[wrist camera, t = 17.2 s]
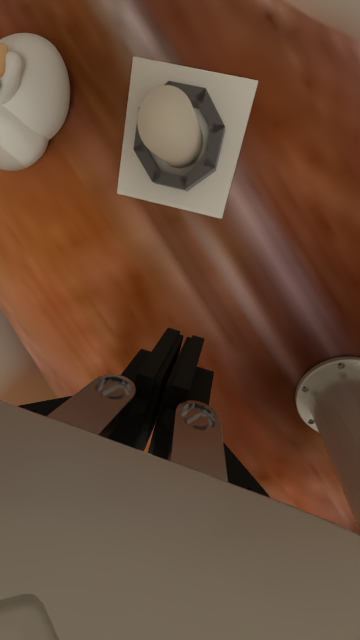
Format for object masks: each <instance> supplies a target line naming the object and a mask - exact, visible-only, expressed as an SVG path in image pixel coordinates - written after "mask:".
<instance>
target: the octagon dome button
mask: <svg viewBox="0 0 360 640" xmlns="http://www.w3.org/2000/svg"><path fill="white" fill-rule="evenodd" d="M163 85H171V86H175V87H177V88H179V89H180V90H182V91H183V92H184V93H185V94H186V95H187V97H188V98H189V100H190V101H191V104H192V106H193V109H194V112H195V114H196V117H197V120H198V122H199V125H200V127H201V130H202V133H203V149H202V152H201V154H200V156H199V158H198V159H197V161H196V162H195V163H194V164H192V165H191V166H189V167H187V168H184V169H177V168H173V167H171V166H169V165H168V164H167V163H165V162H164V161H163V160H162V159H160V158H159V157H158V156H157V155H155V154H154V153H153V152H151V151H150V150H149V149H148V148H147V147H146V146H145V145H144V143H143V141H142V140H141V137H140V135H139V131H138V124H137V119H138V112H139V108H140V105H141V103H142V101H143V100H144V98H145V97H146V95H147V94H148V93H149V92H150V91H152V90H153V89H155V88H157V87H159V86H163ZM257 85H258V80H252V79H247V78H242V77H237V76H232V75H227V74H222V73H216V72H211V71H206V70H201V69H196V68H191V67H185V66H180V65H175V64H170V63H165V62H160V61H155V60H149V59H144V58H139V57H134V56H133V62H132V71H131V79H130V87H129V96H128V104H127V113H126V121H125V129H124V138H123V146H122V155H121V163H120V172H119V180H118V188H117V194H121V195H125V196H129V197H133V198H138V199H142V200H146V201H150V202H154V203H158V204H162V205H167V206H171V207H175V208H179V209H183V210H187V211H191V212H195V213H200V214H204V215H208V216H212V217H216V218H220V219H222V217H223V213H224V209H225V206H226V202H227V198H228V194H229V191H230V187H231V183H232V179H233V175H234V172H235V168H236V164H237V160H238V157H239V153H240V149H241V145H242V142H243V138H244V134H245V130H246V127H247V123H248V119H249V115H250V111H251V108H252V104H253V100H254V96H255V93H256V89H257Z"/></svg>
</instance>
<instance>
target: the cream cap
mask: <svg viewBox="0 0 360 640" xmlns="http://www.w3.org/2000/svg"><path fill="white" fill-rule="evenodd" d="M137 124H138V131H139V135H140V137H141V140H142V141H143V143H144V145H145V146H146V147H147V148H148V149H149V150H150V151H151V152H153V153H154V154H155V155H157V156H158V157H159V158H160V159H162V160H163V161H164V162H165V163H167V164H168V165H169V166H171V167H173V168H177V169H184V168H187V167H189V166H191V165H192V164H194V163H195V162H196V161H197V159H198V158H199V156H200V154H201V152H202V149H203V133H202V130H201V127H200V125H199V122H198V120H197V117H196V114H195V112H194V109H193V106H192V104H191V101H190V100H189V98H188V97H187V95H186V94H185V93H184V92H183V91H182V90H180V89H179V88H177V87H175V86H171V85H163V86H159V87H157V88H155V89H153V90H152V91H150V92H149V93H148V94H147V95H146V97H145V98H144V100H143V101H142V103H141V105H140V108H139V112H138V119H137Z"/></svg>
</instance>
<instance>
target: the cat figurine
mask: <svg viewBox="0 0 360 640" xmlns="http://www.w3.org/2000/svg"><path fill="white" fill-rule="evenodd" d="M69 104H70V83H69V77H68V73H67V69H66V66H65V63H64V61H63V59H62V57H61V55H60V53H59V52H58V50H57V49H56V48H55V46H54V45H53V44H52V43H51V42H49V41H48V40H47V39H45V38H43V37H41V36H39V35H36V34H31V33H17V34H12V35H9V36H7V37H4V38H2V39H1V40H0V169H2V170H9V171H16V170H22V169H25V168H27V167H29V166H31V165H32V164H33V163H35V162H36V161H37V160H39V159H40V158H41V157H42V155H43V154H44V152H45V150H46V148H47V145H48V142H49V140H50V139H51V138H52V137H53V136H54V135H55V134H56V133H57V132H58V131H59V130H60V129H61V127H62V125H63V124H64V122H65V119H66V117H67V113H68V109H69Z"/></svg>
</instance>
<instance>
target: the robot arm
mask: <svg viewBox="0 0 360 640" xmlns="http://www.w3.org/2000/svg"><path fill="white" fill-rule="evenodd" d="M182 340H183V335H180V331H177V330H174V329H171V328H167V330H166V331H165V333H164V334H163V336H162V337H161V339H160V340H159V342H158V343H157V345H156V346H155V348H154V349H153V350H152V352H150V351H147V350H143V349H141V350H140V351H139V352H138V354H137V355H136V356H135V357H134V359H133V360H132V361H131V362H130V364H129V365H128V366H127V368H126V369H125V370H124V371H123V373H122V374H121V375H115V374H108V375H103V376H100V377H98V378H96V379H94V380H93V381H92V382H91V383H89V384H88V385H87V386H85V387H84V388H83V389H81V390H80V391H79V392H77V393H76V394H75V395H74V396H69V397H64V398H58V399H53V400H47V401H42V402H36V403H31V404H26V405H20V406H14V405H12V404H9V403H6V402H3V401H1V400H0V640H360V535H359V534H357V533H355V532H353V531H351V530H349V529H347V528H345V527H343V526H341V525H338V524H336V523H334V522H331V521H329V520H326V519H324V518H321V517H319V516H316V515H314V514H311V513H309V512H306V511H304V510H301V509H299V508H296V507H294V506H291V505H289V504H286V503H283V502H280V501H278V500H275V499H272V498H270V497H269V495H268V494H267V493H266V492H265V490H264V489H263V488H262V487H261V486H260V485H259V483H258V482H257V481H256V480H255V479H254V477H253V476H252V475H251V474H250V473H249V472H248V470H247V469H246V468H245V467H244V466H243V465H242V463H241V462H240V461H239V460H238V459H237V458H236V456H235V455H234V454H233V453H232V452H231V450H230V449H229V448H228V447H227V446H226V445H225V443H224V442H223V437H222V428H221V421H220V418H219V415H218V414H217V413H216V411H215V410H214V409H213V408H211V407H210V406H209V399H210V393H211V387H212V380H213V374H214V372H212V371H209V370H206V369H203V368H200V367H197V363H198V360H199V356H200V353H201V349H202V346H203V342H204V338H200V337H197V336H194V335H193V336H192V338H189V337H187V338H186V340H185V343H184V345H183V347H182V349H181V352H180V348H181V344H182ZM179 352H180V354H179ZM178 355H179V356H178ZM339 363H340V364H339ZM295 403H296V407H297V410H298V413H299V415H300V416H301V418H302V420H303V421H304V422H305V423H306V424H307V425H308V426H309V427H311V428H312V429H314V430H315V431H317V432H319V434H320V436H321V439H322V441H323V443H324V446H325V448H326V451H327V453H328V456H329V458H330V460H331V463H332V465H333V468H334V470H335V472H336V475H337V477H338V480H339V482H340V485H341V487H342V489H343V492H344V494H345V497H346V499H347V501H348V504H349V506H350V509H351V511H352V514H353V516H354V518H355V520H356V523H357V525H358V527H359V530H360V357H352V356H348V357H337V358H333V359H329V360H326V361H324V362H321V363H319V364H317V365H316V366H314V367H312V368H311V369H310V370H309V371H308V372H306V373H305V375H304V376H303V377H302V378H301V380H300V381H299V383H298V385H297V388H296V392H295ZM155 423H156V424H155ZM154 425H155V428H154ZM153 428H154V431H153V435H152V439H151V443H150V447H149V451H148V453H150V454H148V453H146V452H143V451H144V449H145V447H146V445H147V442H148V440H149V437H150V435H151V433H152V430H153ZM140 450H142V451H140ZM151 454H152V455H151Z"/></svg>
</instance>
